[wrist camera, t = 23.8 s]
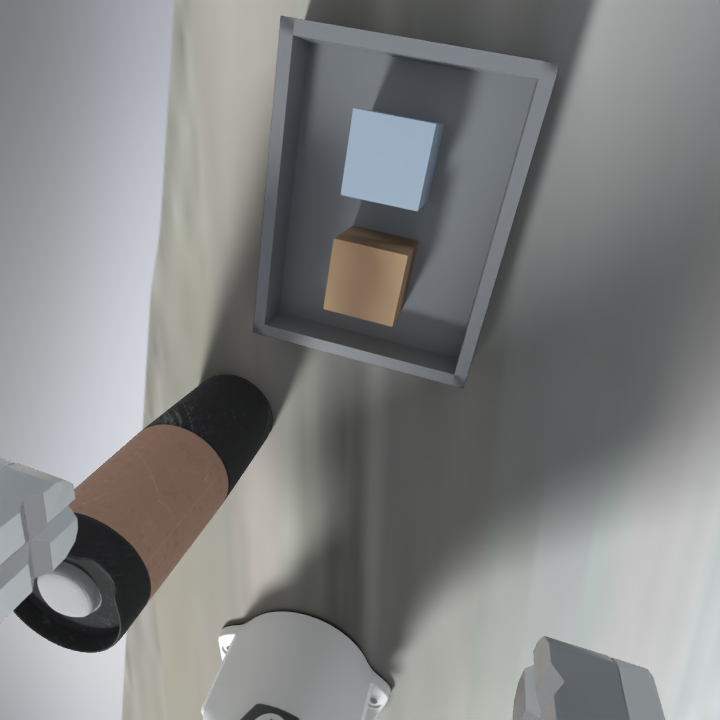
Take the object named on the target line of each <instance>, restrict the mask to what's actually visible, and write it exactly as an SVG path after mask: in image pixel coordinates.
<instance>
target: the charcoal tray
mask: <svg viewBox="0 0 720 720" xmlns="http://www.w3.org/2000/svg"><path fill="white" fill-rule="evenodd" d="M559 66H560V64H558V63H552V62H546V61H541V60H535V59H529V58H523V57H517V56H512V55H506V54H500V53H494V52H488V51H483V50H477V49H471V48H465V47H459V46H454V45H448V44H442V43H436V42H430V41H425V40H419V39H413V38H407V37H401V36H396V35H390V34H384V33H378V32H372V31H367V30H361V29H355V28H349V27H344V26H338V25H332V24H326V23H320V22H315V21H309V20H303V19H297V18H291V17H286V16H281V19H280V30H279V41H278V53H277V64H276V76H275V87H274V98H273V110H272V121H271V133H270V144H269V155H268V167H267V178H266V190H265V201H264V212H263V224H262V235H261V247H260V258H259V269H258V281H257V292H256V303H255V315H254V326H253V333H257V334H261V335H265V336H268V337H272V338H276V339H280V340H283V341H287V342H291V343H295V344H298V345H302V346H306V347H310V348H313V349H317V350H321V351H325V352H328V353H332V354H336V355H340V356H343V357H347V358H351V359H355V360H358V361H362V362H366V363H370V364H373V365H377V366H381V367H385V368H388V369H392V370H396V371H400V372H403V373H407V374H411V375H415V376H418V377H422V378H426V379H429V380H433V381H437V382H441V383H444V384H448V385H452V386H456V387H459V388H463V387H464V384H465V381H466V377H467V374H468V371H469V367H470V364H471V361H472V357H473V354H474V351H475V347H476V344H477V340H478V337H479V334H480V330H481V327H482V324H483V320H484V317H485V314H486V310H487V307H488V304H489V300H490V297H491V294H492V290H493V287H494V283H495V280H496V277H497V273H498V270H499V267H500V263H501V260H502V257H503V253H504V250H505V247H506V243H507V240H508V237H509V233H510V230H511V227H512V223H513V220H514V216H515V213H516V210H517V206H518V203H519V200H520V196H521V193H522V190H523V186H524V183H525V180H526V176H527V173H528V170H529V166H530V163H531V160H532V156H533V153H534V149H535V146H536V143H537V139H538V136H539V133H540V129H541V126H542V123H543V119H544V116H545V113H546V109H547V106H548V103H549V99H550V96H551V93H552V89H553V86H554V82H555V79H556V76H557V72H558V69H559ZM353 108H357V109H365V110H373V111H378V112H384V113H389V114H394V115H399V116H405V117H410V118H415V119H421V120H426V121H431V122H436V123H442V124H444V129H443V134H442V138H441V143H440V147H439V152H438V157H437V161H436V166H435V170H434V175H433V179H432V184H431V189H430V193H429V198H428V201H427V202H426V203H425V205H424V206H423V207H422V208H421V209H420V210H419V211H413V210H408V209H404V208H399V207H394V206H390V205H385V204H381V203H376V202H371V201H367V200H362V199H357V198H353V197H348V196H344V195H341V188H342V182H343V175H344V168H345V161H346V154H347V147H348V140H349V134H350V127H351V120H352V113H353ZM351 226H358V227H362V228H366V229H371V230H375V231H379V232H384V233H388V234H392V235H397V236H401V237H405V238H410V239H414V240H418V241H419V242H418V246H417V251H416V255H415V260H414V264H413V269H412V273H411V277H410V282H409V286H408V291H407V295H406V300H405V304H404V306H403V308H402V310H401V312H400V314H399V316H398V317H397V319H396V321H395V323H394V325H393V327H391V326H387V325H383V324H379V323H376V322H372V321H368V320H364V319H360V318H356V317H352V316H348V315H344V314H341V313H337V312H333V311H329V310H325V309H323V307H324V300H325V293H326V287H327V280H328V274H329V267H330V260H331V254H332V247H333V241H334V238H335V237H337V236H338V235H340V234H341V233H343V232H344V231H345V230H347V229H348V228H350V227H351Z"/></svg>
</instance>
